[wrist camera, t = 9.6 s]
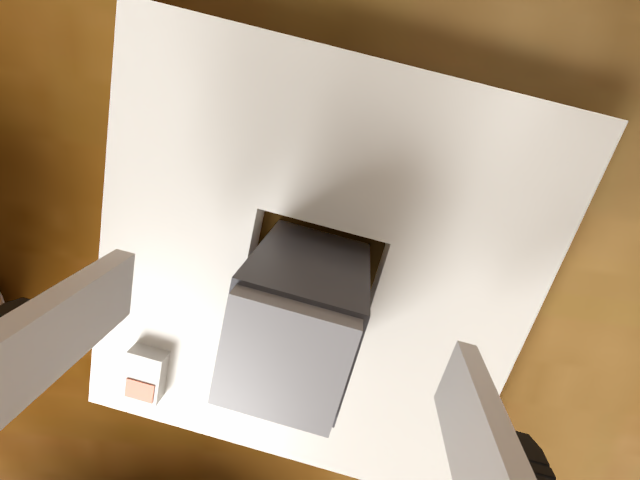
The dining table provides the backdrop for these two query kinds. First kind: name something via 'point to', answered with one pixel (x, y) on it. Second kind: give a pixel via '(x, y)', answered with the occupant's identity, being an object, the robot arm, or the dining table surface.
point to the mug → (1, 299)
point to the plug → (293, 328)
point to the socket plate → (328, 220)
